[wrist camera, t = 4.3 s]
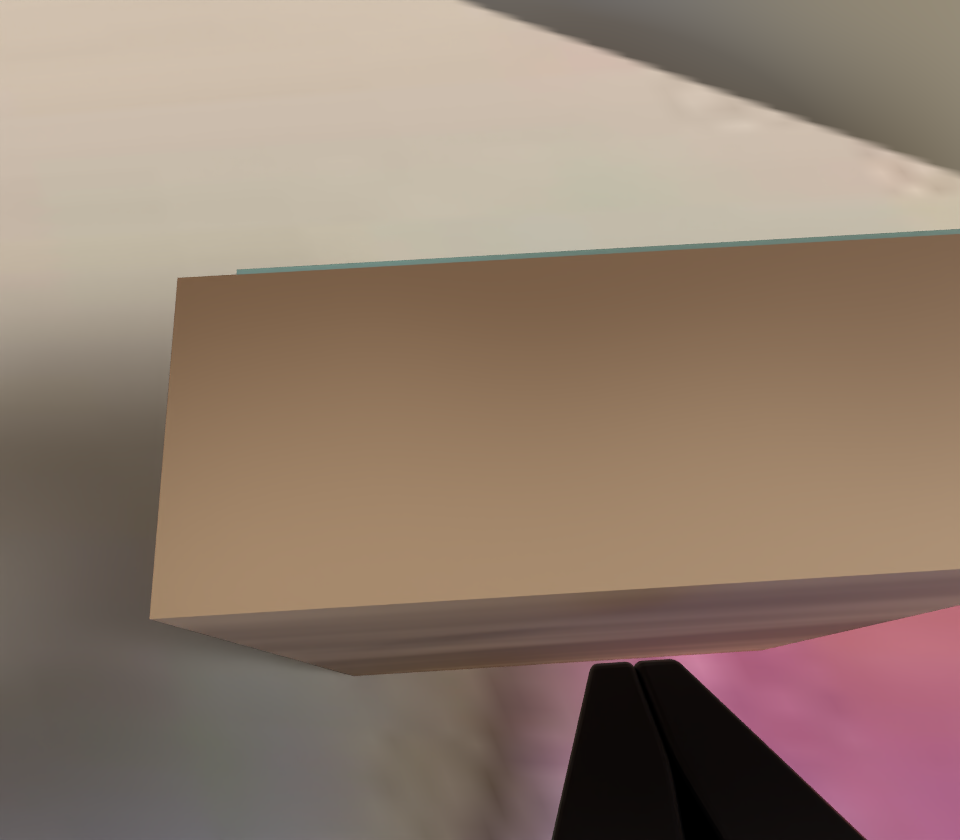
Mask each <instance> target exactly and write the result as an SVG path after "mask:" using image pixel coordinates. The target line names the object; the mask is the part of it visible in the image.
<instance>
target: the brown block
mask: <svg viewBox="0 0 960 840" xmlns="http://www.w3.org/2000/svg"><path fill="white" fill-rule="evenodd" d="M958 605H960V229H951V230H934V231H916V232H898V233H880V234H863V235H845V236H827V237H809V238H792V239H774V240H756V241H738V242H721V243H703V244H685V245H667V246H649V247H632V248H614V249H596V250H578V251H561V252H543V253H525V254H507V255H490V256H472V257H454V258H436V259H419V260H401V261H383V262H365V263H347V264H330V265H312V266H294V267H276V268H259V269H241V270H237V275H221V276H204V277H186V278H178V280H177V292H176V304H175V316H174V328H173V340H172V352H171V364H170V377H169V389H168V401H167V413H166V425H165V437H164V449H163V461H162V473H161V485H160V497H159V510H158V522H157V534H156V546H155V558H154V570H153V582H152V594H151V606H150V618H149V619H151V620H154V621H158V622H161V623H165V624H169V625H172V626H176V627H179V628H183V629H187V630H190V631H194V632H197V633H201V634H205V635H208V636H212V637H215V638H219V639H223V640H226V641H230V642H233V643H237V644H241V645H244V646H248V647H252V648H255V649H259V650H262V651H266V652H270V653H273V654H277V655H280V656H284V657H288V658H291V659H295V660H298V661H302V662H306V663H309V664H313V665H316V666H320V667H324V668H327V669H331V670H334V671H338V672H342V673H345V674H349V675H352V676H361V675H377V674H393V673H409V672H425V671H440V670H456V669H472V668H488V667H504V666H520V665H536V664H551V663H567V662H583V661H599V660H615V659H631V658H647V657H662V656H678V655H694V654H710V653H726V652H742V651H758V650H765V649H769V648H774V647H778V646H782V645H787V644H791V643H796V642H800V641H804V640H809V639H813V638H818V637H822V636H826V635H831V634H835V633H840V632H844V631H848V630H853V629H857V628H861V627H866V626H870V625H875V624H879V623H883V622H888V621H892V620H897V619H901V618H905V617H910V616H914V615H918V614H923V613H927V612H932V611H936V610H940V609H945V608H949V607H954V606H958Z"/></svg>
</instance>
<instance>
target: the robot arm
mask: <svg viewBox="0 0 960 840" xmlns="http://www.w3.org/2000/svg"><path fill="white" fill-rule="evenodd" d="M552 840H867V839H866V838H864V837H863V836H862V835H861V834H860V833H859V832H858V831H857V830H856V829H855V828H854V827H853V826H852V825H851V824H850V823H849V822H848V821H847V820H845V819H844V818H843V817H842V816H841V815H840V814H839V813H838V812H837V811H836V810H835V809H834V808H833V807H832V806H831V805H830V804H829V803H828V802H826V801H825V800H824V799H823V798H822V797H821V796H820V795H819V794H818V793H817V792H816V791H815V790H814V789H813V788H812V787H811V786H810V785H808V784H807V783H806V782H805V781H804V780H803V779H802V778H801V777H800V776H799V775H798V774H797V773H796V772H795V771H794V770H793V769H792V768H791V767H789V766H788V765H787V764H786V763H785V762H784V761H783V760H782V759H781V758H780V757H779V756H778V755H777V754H776V753H775V752H774V751H773V750H772V749H770V748H769V747H768V746H767V745H766V744H765V743H764V742H763V741H762V740H761V739H760V738H759V737H758V736H757V735H756V734H755V733H754V732H752V731H751V730H750V729H749V728H748V727H747V726H746V725H745V724H744V723H743V722H742V721H741V720H740V719H739V718H738V717H737V716H736V715H735V714H733V713H732V712H731V711H730V710H729V709H728V708H727V707H726V706H725V705H724V704H723V703H722V702H721V701H720V700H719V699H718V698H717V697H716V696H714V695H713V694H712V693H711V692H710V691H709V690H708V689H707V688H706V687H705V686H704V685H703V684H702V683H701V682H700V681H699V680H698V679H697V678H695V677H694V676H693V675H692V674H691V673H690V672H689V671H688V670H687V669H686V668H685V667H684V666H683V665H682V664H680V663H679V662H677V661H675V660H672V659H664V660H648V661H639V662H638V663H636V664H635V665H634V667H633V665H632V664H630V663H628V662H616V663H600V664H594V665H593V666H592V667H591V669H590V672H589V676H588V681H587V685H586V689H585V694H584V698H583V703H582V707H581V712H580V716H579V720H578V725H577V729H576V734H575V738H574V743H573V747H572V751H571V756H570V760H569V765H568V769H567V774H566V778H565V782H564V787H563V791H562V796H561V800H560V804H559V809H558V813H557V818H556V822H555V827H554V831H553V835H552Z"/></svg>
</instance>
